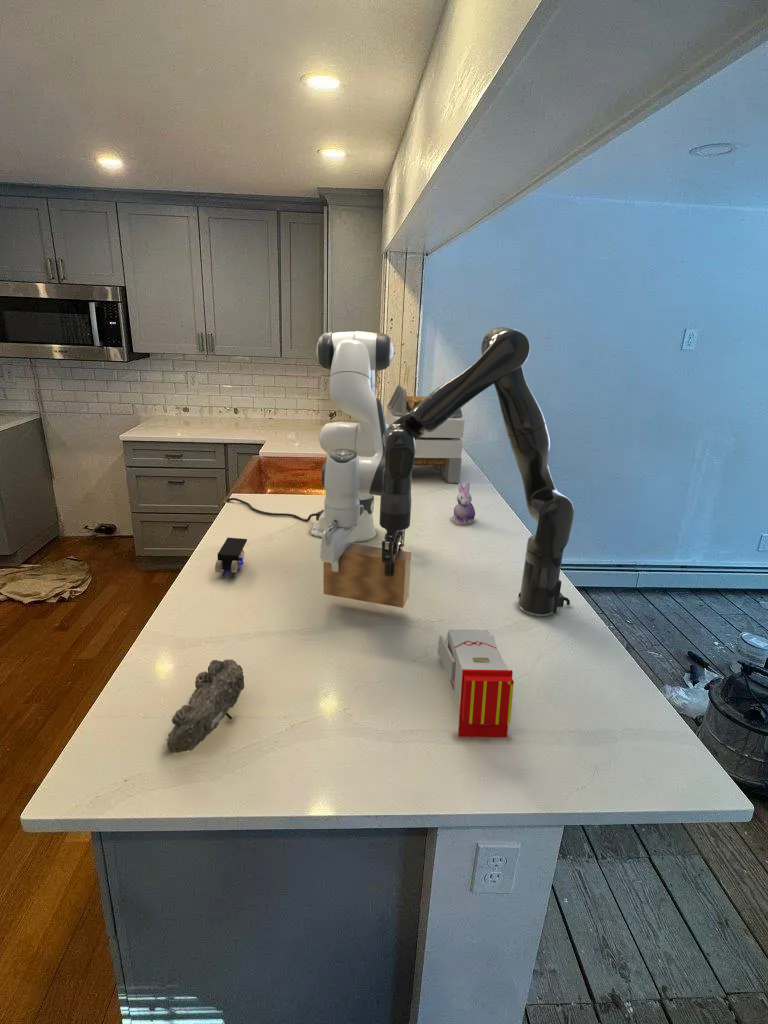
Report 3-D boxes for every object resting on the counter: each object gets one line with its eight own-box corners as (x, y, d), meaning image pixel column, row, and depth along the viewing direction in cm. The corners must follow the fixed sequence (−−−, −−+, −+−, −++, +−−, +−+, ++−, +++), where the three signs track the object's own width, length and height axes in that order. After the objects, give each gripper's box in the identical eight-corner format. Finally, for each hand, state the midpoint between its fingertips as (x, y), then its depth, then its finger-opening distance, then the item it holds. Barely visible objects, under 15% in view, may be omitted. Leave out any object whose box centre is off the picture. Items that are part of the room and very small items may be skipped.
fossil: (192, 660, 117) (244, 628, 112) (224, 691, 120) (276, 661, 115) (142, 746, 98) (202, 712, 93) (182, 779, 101) (242, 748, 96)
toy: (488, 613, 130) (523, 677, 101) (484, 667, 133) (517, 744, 104) (435, 612, 130) (455, 676, 101) (432, 666, 133) (451, 743, 103)
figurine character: (238, 584, 162) (249, 557, 175) (236, 562, 158) (247, 536, 172) (215, 584, 161) (227, 556, 175) (212, 561, 158) (225, 535, 171)
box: (323, 594, 148) (323, 548, 143) (331, 584, 153) (331, 540, 149) (403, 608, 142) (405, 561, 138) (408, 597, 148) (411, 551, 143)
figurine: (461, 527, 208) (464, 488, 203) (445, 518, 216) (448, 480, 211) (481, 524, 212) (485, 485, 207) (466, 515, 221) (469, 478, 216)
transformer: (382, 463, 289) (386, 382, 275) (445, 464, 293) (451, 384, 279) (390, 482, 257) (394, 392, 243) (460, 483, 261) (468, 394, 247)
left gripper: (339, 530, 132) (338, 584, 137) (365, 504, 151) (364, 551, 155) (313, 527, 134) (313, 579, 138) (343, 501, 152) (342, 548, 157)
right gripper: (403, 519, 130) (399, 585, 136) (417, 500, 143) (413, 561, 149) (372, 515, 132) (369, 580, 138) (388, 497, 145) (385, 557, 151)
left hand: (340, 564), depth 147 cm, fingers closed on box, 6 cm apart
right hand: (392, 570), depth 143 cm, fingers closed on box, 6 cm apart
